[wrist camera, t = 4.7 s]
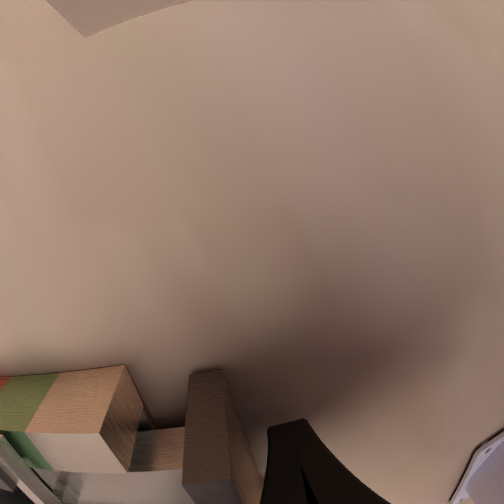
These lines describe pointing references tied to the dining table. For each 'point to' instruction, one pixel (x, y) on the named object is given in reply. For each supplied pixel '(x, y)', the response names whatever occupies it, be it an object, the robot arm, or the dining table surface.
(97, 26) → the white cube
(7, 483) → the small grey rectangular block
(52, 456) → the gauge housing
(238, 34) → the dining table surface
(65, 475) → the bar with square endplate
